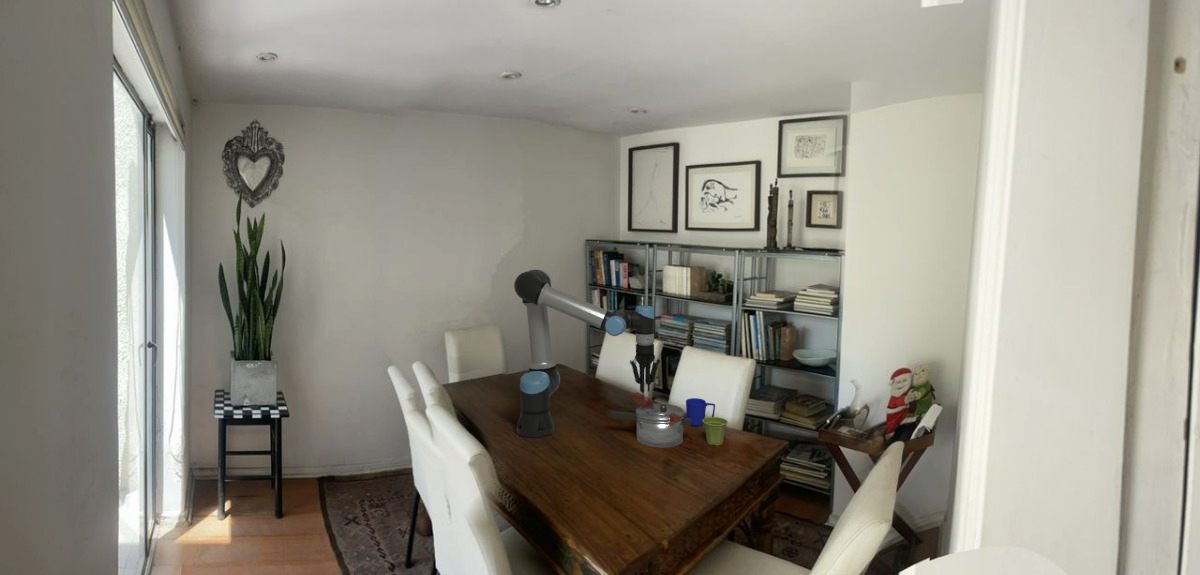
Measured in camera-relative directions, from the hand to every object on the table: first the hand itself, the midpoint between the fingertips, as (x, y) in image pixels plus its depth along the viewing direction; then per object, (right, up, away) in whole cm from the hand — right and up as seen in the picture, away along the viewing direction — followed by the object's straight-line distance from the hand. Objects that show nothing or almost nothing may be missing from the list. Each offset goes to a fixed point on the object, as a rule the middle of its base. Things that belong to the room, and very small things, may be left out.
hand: (644, 399), depth 239 cm
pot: (+1, -13, -12) cm, 18 cm away
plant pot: (+25, -13, -18) cm, 34 cm away
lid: (+3, -2, -11) cm, 12 cm away
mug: (+23, -11, +3) cm, 26 cm away
